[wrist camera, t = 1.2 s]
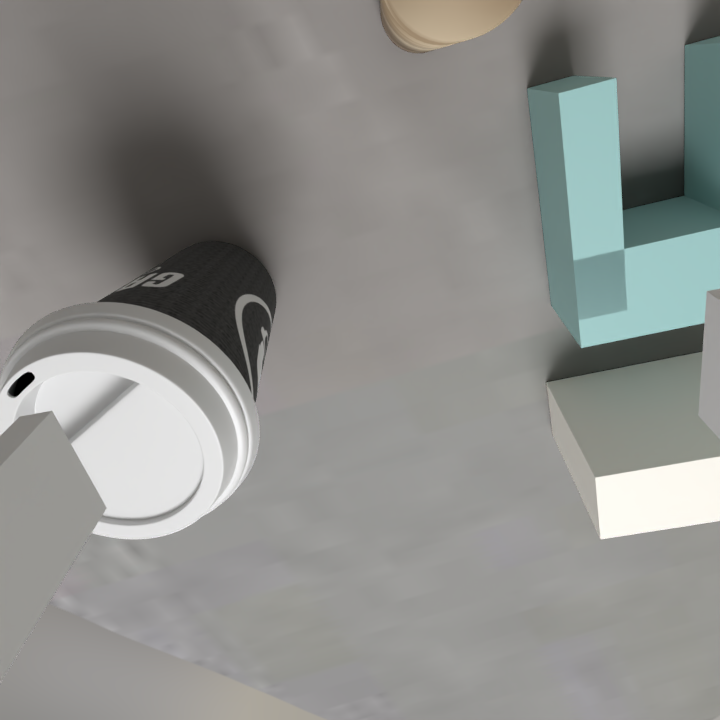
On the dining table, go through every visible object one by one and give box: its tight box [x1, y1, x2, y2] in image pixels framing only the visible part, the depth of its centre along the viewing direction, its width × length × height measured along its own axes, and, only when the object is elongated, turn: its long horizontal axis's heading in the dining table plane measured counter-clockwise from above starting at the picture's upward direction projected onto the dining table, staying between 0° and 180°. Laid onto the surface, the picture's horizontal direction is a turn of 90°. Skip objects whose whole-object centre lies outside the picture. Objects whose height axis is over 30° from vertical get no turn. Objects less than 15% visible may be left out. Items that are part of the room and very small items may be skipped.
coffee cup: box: [0, 242, 276, 539], centre depth 26 cm, size 10×10×15 cm
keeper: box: [527, 36, 720, 348], centre depth 27 cm, size 12×9×6 cm
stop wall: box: [546, 352, 720, 539], centre depth 31 cm, size 4×11×9 cm, turn 104°
